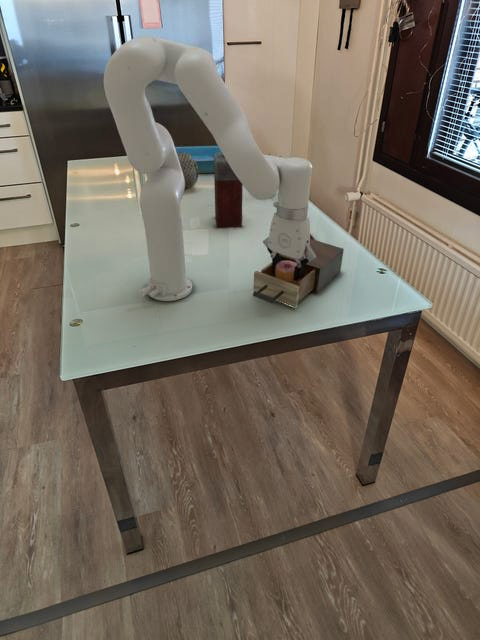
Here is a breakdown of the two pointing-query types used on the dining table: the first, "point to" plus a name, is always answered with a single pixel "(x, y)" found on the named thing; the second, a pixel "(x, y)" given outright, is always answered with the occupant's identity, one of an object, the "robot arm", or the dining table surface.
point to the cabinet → (323, 262)
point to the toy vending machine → (227, 194)
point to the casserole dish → (202, 156)
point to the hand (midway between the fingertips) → (286, 273)
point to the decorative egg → (188, 169)
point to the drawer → (283, 286)
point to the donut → (285, 270)
